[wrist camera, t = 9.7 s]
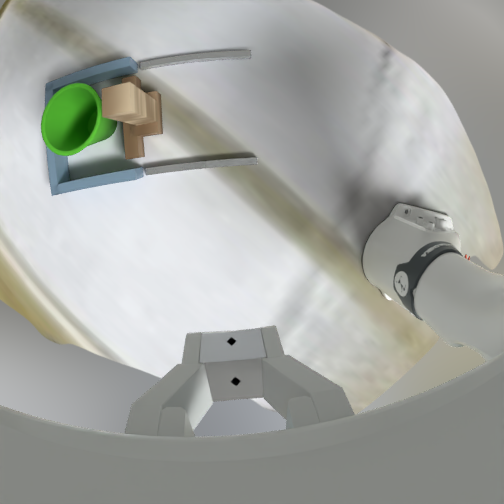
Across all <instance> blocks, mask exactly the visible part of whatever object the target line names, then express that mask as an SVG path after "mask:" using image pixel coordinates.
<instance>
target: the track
mask: <svg viewBox="0 0 504 504" xmlns="http://www.w3.org/2000/svg"><path fill="white" fill-rule="evenodd" d="M248 58H251V50H238V51H219V52H206V53H196V54H187V55H180V56H173V57H166V58H160V59H155V60H149V61H144V62H140V68H141V69H142V70H146V69H151V68H156V67H162V66H168V65H175V64H182V63H190V62H199V61H210V60H224V59H248ZM254 164H257V157H250V158H234V159H221V160H210V161H199V162H190V163H181V164H173V165H165V166H158V167H150V168H145V171H146V175H152V174H159V173H166V172H175V171H183V170H192V169H202V168H213V167H224V166H238V165H254Z"/></svg>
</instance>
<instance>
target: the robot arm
mask: <svg viewBox="0 0 504 504" xmlns="http://www.w3.org/2000/svg"><path fill="white" fill-rule="evenodd" d="M405 210H406V213H405ZM469 260H470V256H469V258H468V259H467V255H465V258H464V257H463V256H462V254H461V240H460V236H459V234H458V233H457V232H455V231H454V229H453V223H452V219H451V217H449V216H447V215H444V214H441V213H437V212H434V211H430V210H426V209H422V208H419V207H415V206H411V205H407V204H403V203H398V204H397V205H396V206H395V207H394V209H393V210H392V212H391V214H390V215H389V217H388V218H387V219H386V220H384V221H383V222H382V223H381V224H380V225H378V226H377V228H376V229H375V230H374V231H373V232H372V234H371V235H370V237H369V239H368V241H367V243H366V246H365V249H364V253H363V269H364V273H365V276H366V278H367V279H368V280H369V282H370V283H371V284H372V285H374V286H376V287H377V288H379V289H380V290H381V292H382V294H383V296H384V297H385V298H386V299H387V300H392V299H393V300H394V301H395V302H397V303H398V304H399V305H401V306H402V307H403V308H405V309H406V310H408V311H409V312H410V313H411V314H412V315H414V316H415V317H417V318H418V319H420V320H423V321H425V322H426V323H427V324H428V325H429V327H430V328H431V329H432V330H433V331H434V332H435V333H436V334H437V335H438V336H439V337H440V338H441V339H442V340H443V341H444V342H445V343H446V344H447V345H450V346H452V347H462V346H467V347H469V348H471V349H473V350H474V351H476V352H478V353H479V354H480V355H481V356H482V357H483V358H484V360H485V363H484V364H482V365H480V366H478V367H476V368H474V369H472V370H471V371H468V372H466V373H465V374H463V375H460V376H459V377H456V378H454V379H452V380H450V381H448V382H445V383H443V384H441V385H439V386H437V387H434V388H432V389H429V390H427V391H424V392H423V393H419V394H417V395H414V396H412V397H409V398H406V399H404V400H401V401H398V402H395V403H392V404H389V405H386V406H383V407H380V408H377V409H374V410H370V411H367V412H363V413H360V414H356V415H355V414H354V412H353V410H352V408H351V405H350V403H349V401H348V399H347V397H346V395H345V392H344V390H343V388H342V387H340V386H339V385H337V384H335V383H334V382H332V381H330V380H329V379H327V378H325V377H324V376H322V375H320V374H319V373H317V372H315V371H314V370H312V369H311V368H309V367H307V366H306V365H304V364H303V363H301V362H299V361H298V360H296V359H295V358H293V357H291V356H290V355H284V351H283V348H282V345H281V342H280V338H279V335H278V332H277V328H276V326H267V327H260V328H255V329H246V330H235V331H216V332H202V333H201V332H196V333H187V335H186V339H185V345H184V352H183V358H182V364H177V365H176V366H175V367H174V368H173V369H172V370H171V371H169V372H168V373H167V374H166V375H165V376H164V377H163V378H162V379H160V380H159V381H158V382H157V383H156V384H155V385H154V386H152V387H151V388H150V389H149V390H148V391H147V392H146V393H144V394H143V395H142V396H141V397H140V398H139V399H138V400H136V401H135V402H134V403H133V404H132V406H131V410H130V413H129V417H128V421H127V425H126V429H125V433H115V432H108V431H101V430H94V429H88V428H83V427H77V426H72V425H68V424H63V423H58V422H54V421H50V420H46V419H42V418H39V417H35V416H32V415H28V414H25V413H22V412H19V411H15V410H12V409H9V408H7V407H4V406H1V405H0V504H504V275H502V274H496V273H493V272H490V271H487V270H486V269H484V268H482V267H480V266H478V265H477V264H475V263H473V262H471V261H469ZM262 397H264V399H265V400H266V401H267V402H268V403H269V404H270V405H271V406H272V407H273V408H274V409H275V410H276V411H277V412H278V413H279V414H280V415H281V416H283V417H284V418H285V419H286V420H287V421H286V429H285V430H279V431H271V432H263V433H254V434H243V435H230V436H212V437H195V434H194V431H193V430H194V429H195V428H196V426H197V425H198V424H199V422H200V421H201V419H202V418H203V416H204V415H205V414H206V412H207V411H208V409H209V408H210V407H211V405H212V404H213V402H215V401H226V400H236V399H250V398H262Z"/></svg>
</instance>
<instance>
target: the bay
mask: <svg viewBox="0 0 504 504" xmlns="http://www.w3.org/2000/svg"><path fill="white" fill-rule="evenodd" d="M133 73H138V64H137V63H136V62H135V61H134V60H133V59H132V58H131V57H126V58H122V59H118V60H114V61H110V62H107V63H103V64H100V65H97V66H93V67H90V68H87V69H84V70H81V71H78V72H75V73H72V74H69V75H67V76H64V77H61V78H59V79H56V80H54V81H51V82H49V83H47V84H46V88H45V107H46V106H47V104H48V102H49V100H50V99H51V98H52V97H53V95H54V94H55V93H56V92H58V91H59V90H60V89H61V88H63V87H65V86H67V85H69V84H74V83H84V84H87V85H91V84H94V83H97V82H101V81H105V80H108V79H112V78H116V77H120V76H124V75H129V74H133ZM46 148H47V161H48V170H49V179H50V187H51V193H52V196H53V195H58V194H62V193H67V192H71V191H76V190H81V189H86V188H91V187H96V186H102V185H107V184H113V183H119V182H125V181H131V180H137V179H139V178H142V177H143V168H142V167H139V168H133V169H127V170H121V171H116V172H110V173H105V174H100V175H95V176H90V177H85V178H80V179H76V180H71V181H70V177H69V168H68V158H67V156H61V155H57V154H55V153H54V152H52V151H51V150H50V149H49V148H48V147H47V146H46Z"/></svg>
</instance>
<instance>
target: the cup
mask: <svg viewBox="0 0 504 504" xmlns="http://www.w3.org/2000/svg"><path fill="white" fill-rule="evenodd" d="M116 127H117V120H113V119H109V118H104V117H102V100H101V99H100V97H99V96H98V94H97V92H96V91H95V90H94V89H93V88H92V87H91V86H89V85H87V84H84V83H74V84H69V85H67V86H65V87H63V88H61V89H60V90H59V91H58V92H56V93H55V94H54V95H53V97H52V98H51V99H50V100H49V102H48V104H47V106H46V107H45V110H44V113H43V116H42V122H41V133H42V137H43V140H44V142H45V144H46V146H47V147H48V148H49V149H50V150H51V151H52V152H54V153H55V154H57V155H61V156H69V155H73V154H76V153H78V152H80V151H81V150H83V149H84V148H85V147H87V146H89V145H92V144H94V143H97V142H100V141H103V140H105V139H107V138H109V137H110V136H111V135H112V134H113V133H114V131H115V129H116Z"/></svg>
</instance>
